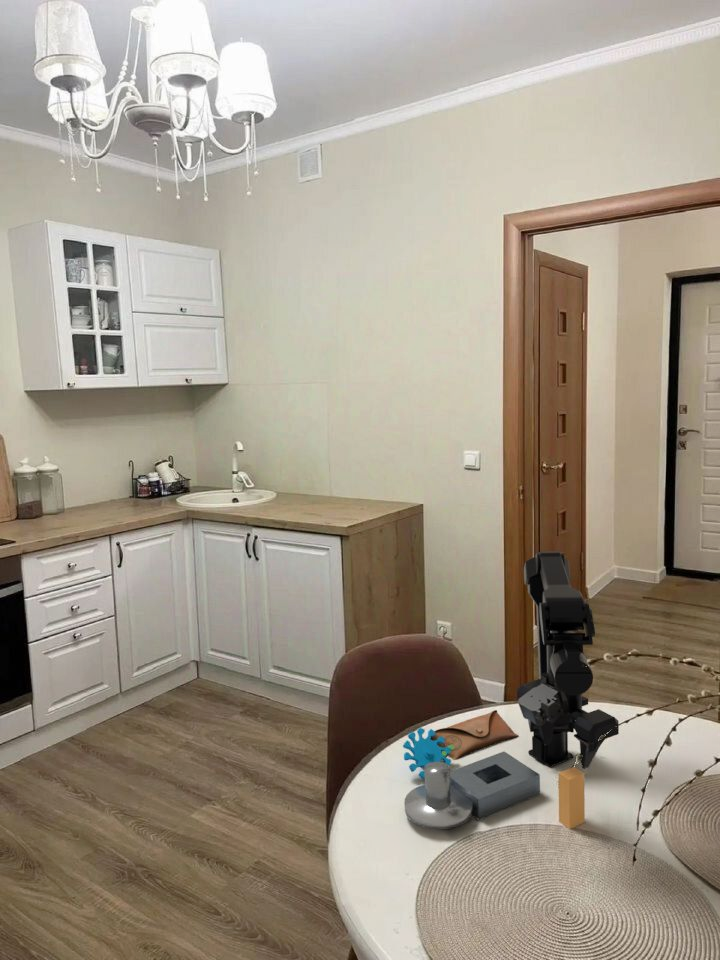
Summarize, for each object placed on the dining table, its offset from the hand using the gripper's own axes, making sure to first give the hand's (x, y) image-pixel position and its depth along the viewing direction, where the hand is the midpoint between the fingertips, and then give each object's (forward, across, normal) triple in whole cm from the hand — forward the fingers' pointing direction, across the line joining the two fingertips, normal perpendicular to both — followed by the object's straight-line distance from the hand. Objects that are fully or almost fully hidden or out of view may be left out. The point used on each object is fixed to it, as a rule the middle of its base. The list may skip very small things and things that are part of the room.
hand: (565, 755), depth 126 cm
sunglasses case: (+13, -31, +4) cm, 34 cm away
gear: (+12, -26, -11) cm, 31 cm away
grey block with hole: (+12, -13, -11) cm, 21 cm away
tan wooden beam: (+12, +1, +1) cm, 12 cm away
